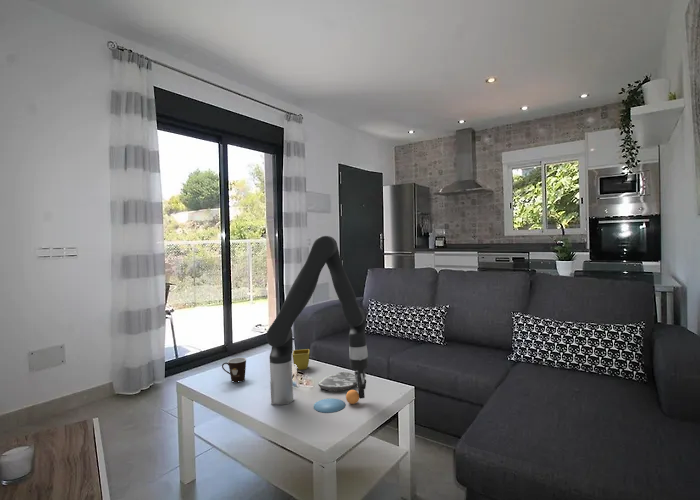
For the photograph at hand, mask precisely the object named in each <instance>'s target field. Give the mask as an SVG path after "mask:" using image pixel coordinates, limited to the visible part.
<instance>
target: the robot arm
mask: <svg viewBox="0 0 700 500" xmlns="http://www.w3.org/2000/svg"><path fill="white" fill-rule="evenodd" d="M325 265H326V266H327V268H328V270H329V274H330V276H331V282H332V285H333V288H334V291H335V293H336V296H337V298H338V300H339V302H340V306H341V309H342V312H343V316H344V319H345V322H346V323H347V324H348V325H349V331H348V332H349V333H348V345H349V349H348V350H349V351H348V353H349V367H350V369H351V370H353V371H354V375H355V378H356V386H357V389H358V391H357V392H358V394H359V400H360V399H365V390H366V387H367V386H366V385H367V379H366V372H365V370H366V369H368V367H369V356H368V355H369V354H368V348H367V347H368V346H367V337H366V314H365V311H364V309H363V308H362V307H360V306H359V305H358V302H357V296H356V293H355V290H354V288H353V286H352V283H351V281H350V279H349V277H348V275H347V273H346V272H347V271H346V270H345V267H344V264H343V262H342V258H341V256H340V251H339V247H338V243H337V240H336V238H334V237H332V236H330V235H320V236H318V237H317V238H315V240H314V241H313V244H312V246H311V248H310V251H309V253H308V256H307V258H306V260H305V263H304V264H303V266H302V267H301V269H300V271H299V272H298V274H297V276H296V278H295V279H294V280H293V283H292V284H291V287H290V288H289V291H288V292H287V293H288V294H287V295H286V297H285V299H284V301H283V304H282V306H281V309H280V310H279V313H278V314H277V316H276V317H275V319H274V321H273V322H272V323H271V325H270V326H269V328H268V329H267V331H266V334H265V335H266V337H265V338H266V342H267V343H268V345H269V346H271V351H270V354H269V371H270V372H269V374H270V381H269V383H270V386H269V387H270V403H271V404H270V405H277V406H281V405H288V404H291V403H292V402H293V401H294V384H293V383H294V382H293V351H294V350H293V349H294V348H293V347H294V346H293V344H294V343H293V342H294V341H293V330H292V327H293V326H294V323H295V321H296V320H297V318H298V317H299V316H300V315H301V313H302V312H303V310H304V309H305V308H306V306H307V305H308V304H309V302H310V299H311V298H312V296H313V294H314V292H315V290H316V288H317V285H318V281H319V278H320V275H321V272H322V270H323V268H324V266H325Z"/></svg>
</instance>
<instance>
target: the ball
mask: <svg viewBox="0 0 700 500" xmlns="http://www.w3.org/2000/svg"><path fill="white" fill-rule="evenodd" d="M345 398H346V399H345V400H346V402H347V403H348V404H351V405H355V404H357V403H358V402H359V400H360V398H359V393H358V391H357V390H355V389H349V390H348V391H347V393H346V395H345Z"/></svg>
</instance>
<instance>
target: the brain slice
mask: <svg viewBox="0 0 700 500" xmlns="http://www.w3.org/2000/svg"><path fill="white" fill-rule="evenodd" d="M355 386H357V384H356V378H355V374H353V373H350V372H346V371H345V372H344V371H343V372H342V371H341V372H338V373H335V374H331V375H327V376H324V377H323V378H322V380H321V381H319V382H318V387H319V388H320V389H322V390H326V391H327V392H328V391H329V392H330V393H332V392H340V391H346V390H350V389H351V388H353V387H355Z"/></svg>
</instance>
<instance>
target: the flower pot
mask: <svg viewBox="0 0 700 500" xmlns="http://www.w3.org/2000/svg"><path fill="white" fill-rule="evenodd" d="M292 363H293V365H294V364H296V365H297V367H298V369H299V370H298V371H300V370H307V369H308V367H309V363H310V349H309V348H307V349H306V348H305V349H294V350H293V351H292Z"/></svg>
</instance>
